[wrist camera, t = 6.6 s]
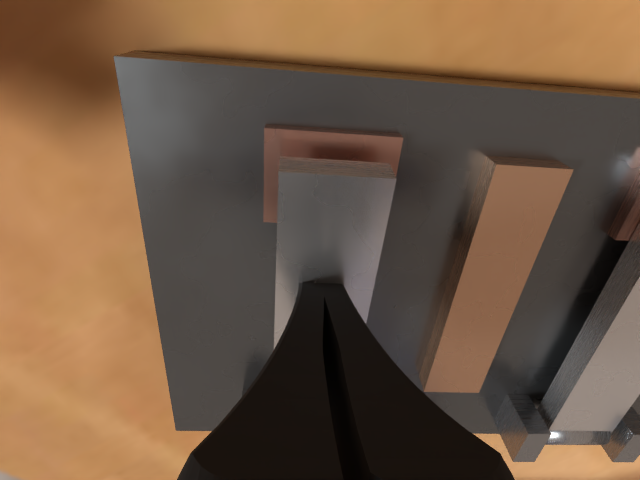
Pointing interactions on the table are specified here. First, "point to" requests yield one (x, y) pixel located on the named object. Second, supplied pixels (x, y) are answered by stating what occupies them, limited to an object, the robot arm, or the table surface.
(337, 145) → the plate
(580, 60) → the table surface
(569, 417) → the bar
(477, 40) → the table surface
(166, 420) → the table surface
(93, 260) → the table surface
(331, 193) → the bar
